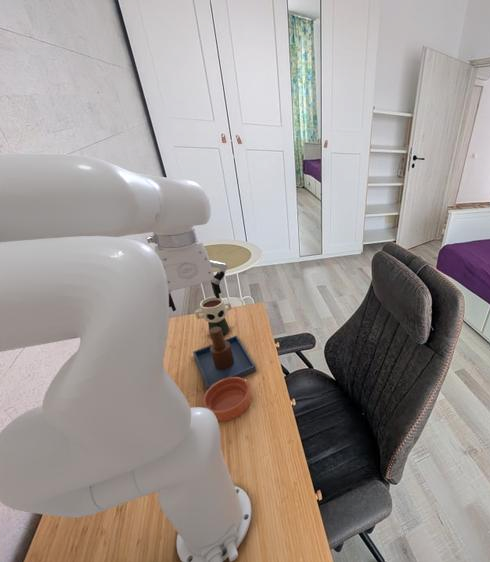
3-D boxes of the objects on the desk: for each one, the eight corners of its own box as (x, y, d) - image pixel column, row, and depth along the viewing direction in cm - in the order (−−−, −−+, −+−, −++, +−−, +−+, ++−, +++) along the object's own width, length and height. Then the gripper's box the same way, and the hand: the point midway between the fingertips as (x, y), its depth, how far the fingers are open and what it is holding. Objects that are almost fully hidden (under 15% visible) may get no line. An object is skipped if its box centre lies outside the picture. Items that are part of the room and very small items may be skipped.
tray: (256, 372, 86) (255, 366, 85) (209, 394, 79) (206, 387, 77) (238, 340, 97) (236, 335, 96) (194, 357, 90) (192, 351, 88)
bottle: (236, 364, 88) (228, 331, 81) (217, 372, 85) (207, 338, 78) (231, 354, 91) (222, 321, 84) (212, 361, 88) (202, 328, 81)
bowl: (258, 406, 76) (255, 397, 74) (212, 431, 70) (209, 421, 68) (244, 380, 84) (241, 370, 82) (201, 399, 77) (198, 390, 75)
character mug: (204, 343, 95) (194, 312, 89) (200, 331, 100) (191, 301, 94) (238, 332, 101) (231, 302, 95) (233, 321, 106) (226, 292, 100)
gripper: (128, 251, 55) (156, 321, 63) (223, 235, 65) (236, 298, 73) (125, 239, 60) (152, 306, 68) (214, 226, 70) (228, 286, 78)
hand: (196, 302), depth 71 cm, fingers open, 9 cm apart
